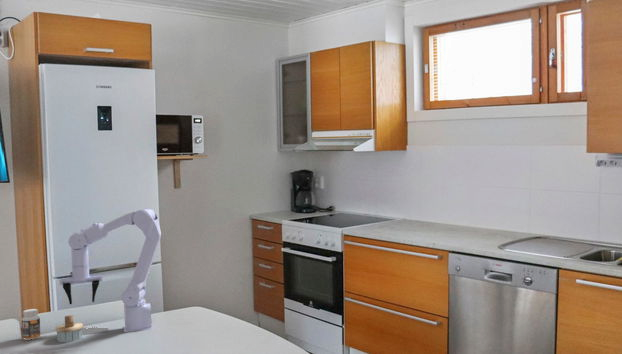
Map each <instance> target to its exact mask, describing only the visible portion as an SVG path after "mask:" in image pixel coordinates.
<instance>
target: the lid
mask: <svg viewBox="0 0 622 354" xmlns="http://www.w3.org/2000/svg"><path fill="white" fill-rule="evenodd" d="M82 328H84V323H81V322H75V321H74V315H71V314H70V315H65V316H64V323H63V324H60V325H57V326H55V328H54V329H55V332H56V333H57V332H72V331H77V330H80V329H82Z"/></svg>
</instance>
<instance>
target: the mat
mask: <svg viewBox="0 0 622 354" xmlns="http://www.w3.org/2000/svg"><path fill="white" fill-rule="evenodd" d="M91 327H92V328H88V329H86V328H87V327H83V328H82V336H84V335H86V336H87V335H95V334H103V333H108V332H109V327H108V328H97V327H96V326H91ZM93 327H94V328H93ZM95 327H96V328H95Z"/></svg>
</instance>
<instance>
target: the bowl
mask: <svg viewBox="0 0 622 354" xmlns="http://www.w3.org/2000/svg"><path fill="white" fill-rule="evenodd" d="M56 339H57V341H58V342H59V343H70V342H75V341H79V340H82V339H83V335H82V329H80V330H77V331H72V332H56Z"/></svg>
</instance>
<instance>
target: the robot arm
mask: <svg viewBox="0 0 622 354" xmlns="http://www.w3.org/2000/svg"><path fill="white" fill-rule="evenodd" d="M126 225H129V226H133V225H135V226H136V227H137V228H138V229H139V230H140V231H142V233H143V235H144V236H145V240H144V242H143V245H142V248H141V251H140V254H139V257H138V260H137V263H136V266H135V270H134V271H133V275H132V278H131V279H130V282H129V283H128V286H127V287H126V289H125V290H124V291H123V292H122V294H121V301H122V303H123V308H124V309H123V310H124V311H123V312H124V326H123V332H124V333H128V332H129V333H130V332H137V331H138V332H139V331H146V330H148V331H149V330H152V329H153V328H152V324H153V320H152V319H153V318H152V306H151V303H148V302H147V303H146V301H145V300H144V299H145V297H146V293H147V290H146V286H147V279H148V275H149V273H150V270H151V267H152V264H153V261H154V258H155V257H156V253H157V249H158V247H159V244H160V241H161V237H162V232H161V226H160V222H159V216H158V214H157V212H156V211H155V210H154V209H153V208H150V207H145V208H143V209H138V210H136V211H132V212H128V213H125V214H124V215H121V216H120V217H117V218H115V219H113V220H111V221H109V222H107V223H105V224H104V223H101V222H99V223H97V222H94V223H92V225H91V226H90V227H87V228H82V229H80V231H79V232H74V233H73V234H72V235H70V236H69V238H68V245H69V246H70V248H71V249H70V250H71V270H72V273H71V274H72V275H71V276H72V277H66V278H60V279H59V280H58V282H59V286H62V288H63V290H64V292H65V294H66V296H67V298H68V302H69V305H72V304H73V299H72V298H73V297H72V284H83V283H91V289H92V290H91V291H92V294H91V295H92V297H91V301H92V303H95V297H96V293H97V290H98V287H99V285H100V282H103V275H102V274H99V275H90V263H89V261H90V260H89V245H92V244H94V243H97V242H98V241H101V240H103V239H105V238H107V237H108V234H109V232H112V231H114V230H117V229H119V228H121V227H124V226H126Z"/></svg>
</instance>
